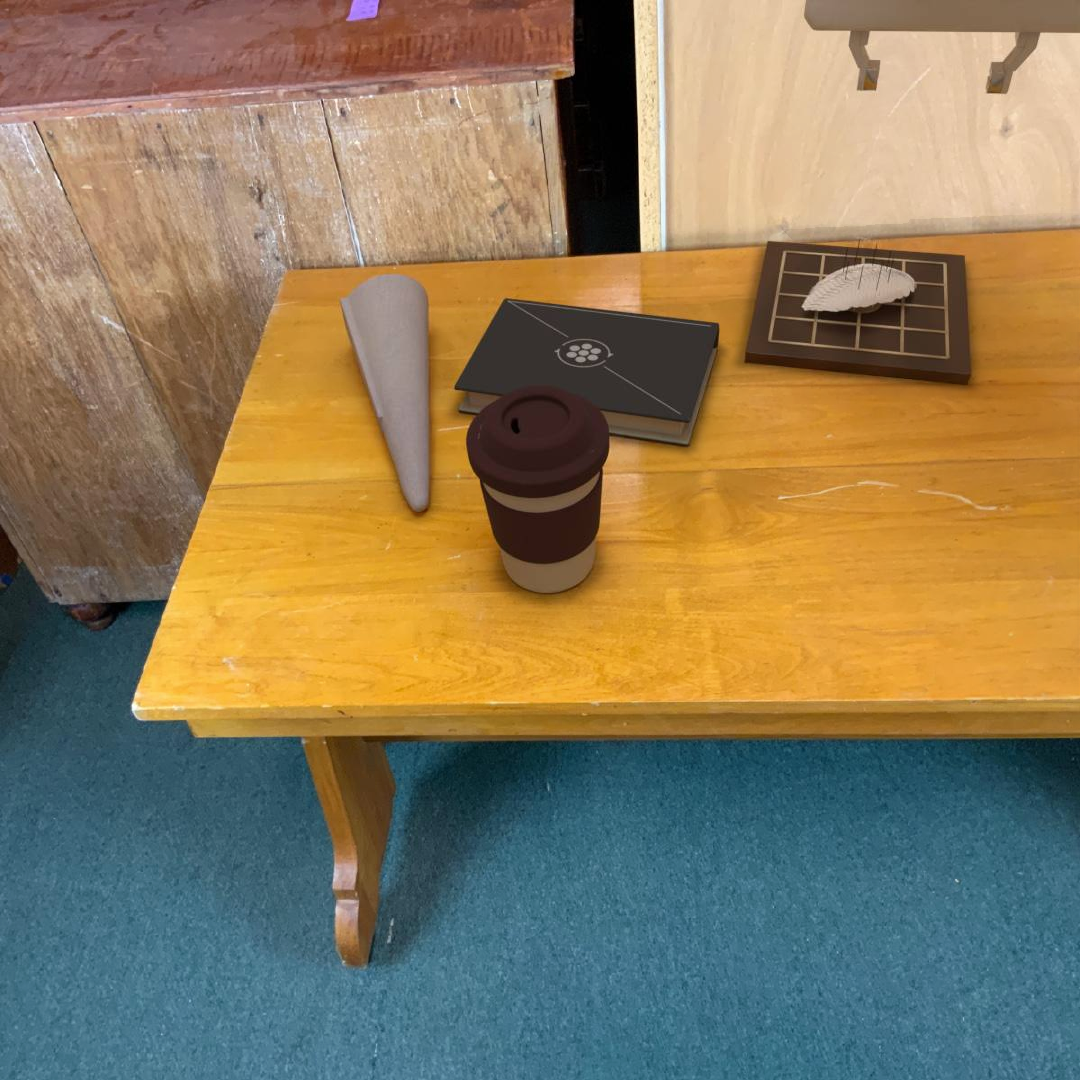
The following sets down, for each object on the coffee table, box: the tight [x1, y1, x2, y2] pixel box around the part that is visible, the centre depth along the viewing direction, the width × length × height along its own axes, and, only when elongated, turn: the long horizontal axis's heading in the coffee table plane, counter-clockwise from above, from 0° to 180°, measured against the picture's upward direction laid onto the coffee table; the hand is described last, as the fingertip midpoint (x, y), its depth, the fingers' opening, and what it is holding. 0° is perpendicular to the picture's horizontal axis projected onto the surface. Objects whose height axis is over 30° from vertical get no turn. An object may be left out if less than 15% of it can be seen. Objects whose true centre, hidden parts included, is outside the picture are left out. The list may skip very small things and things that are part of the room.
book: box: [453, 297, 720, 447], centre depth 90 cm, size 22×15×3 cm
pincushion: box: [802, 238, 917, 312], centre depth 92 cm, size 12×6×6 cm, turn 105°
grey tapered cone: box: [339, 273, 431, 513], centre depth 87 cm, size 8×9×26 cm
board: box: [744, 240, 972, 386], centre depth 95 cm, size 20×20×1 cm
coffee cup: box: [465, 385, 610, 594], centre depth 70 cm, size 10×10×15 cm
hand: (930, 89), depth 74 cm, fingers open, 8 cm apart
